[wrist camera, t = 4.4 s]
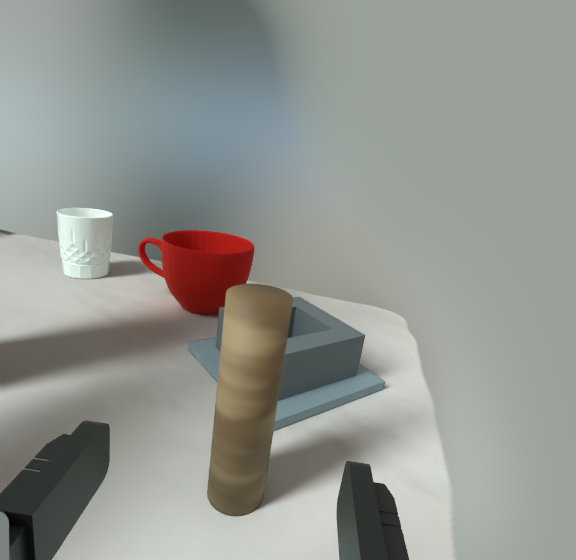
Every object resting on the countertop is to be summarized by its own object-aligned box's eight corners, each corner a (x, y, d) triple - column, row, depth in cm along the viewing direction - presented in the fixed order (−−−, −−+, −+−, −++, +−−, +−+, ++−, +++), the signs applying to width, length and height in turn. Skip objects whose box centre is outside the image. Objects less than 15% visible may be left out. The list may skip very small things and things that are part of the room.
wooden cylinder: (224, 526, 25) (248, 312, 21) (197, 482, 28) (214, 287, 24) (274, 500, 28) (306, 303, 23) (245, 462, 31) (268, 281, 26)
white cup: (71, 283, 59) (69, 218, 56) (50, 269, 64) (48, 208, 61) (121, 276, 65) (122, 217, 62) (99, 263, 70) (98, 207, 67)
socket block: (263, 434, 34) (272, 374, 32) (188, 349, 46) (191, 302, 44) (383, 389, 44) (395, 340, 42) (295, 328, 55) (302, 289, 54)
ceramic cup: (157, 280, 66) (160, 222, 63) (255, 299, 64) (262, 239, 61) (114, 308, 54) (114, 236, 50) (233, 331, 52) (241, 259, 49)
